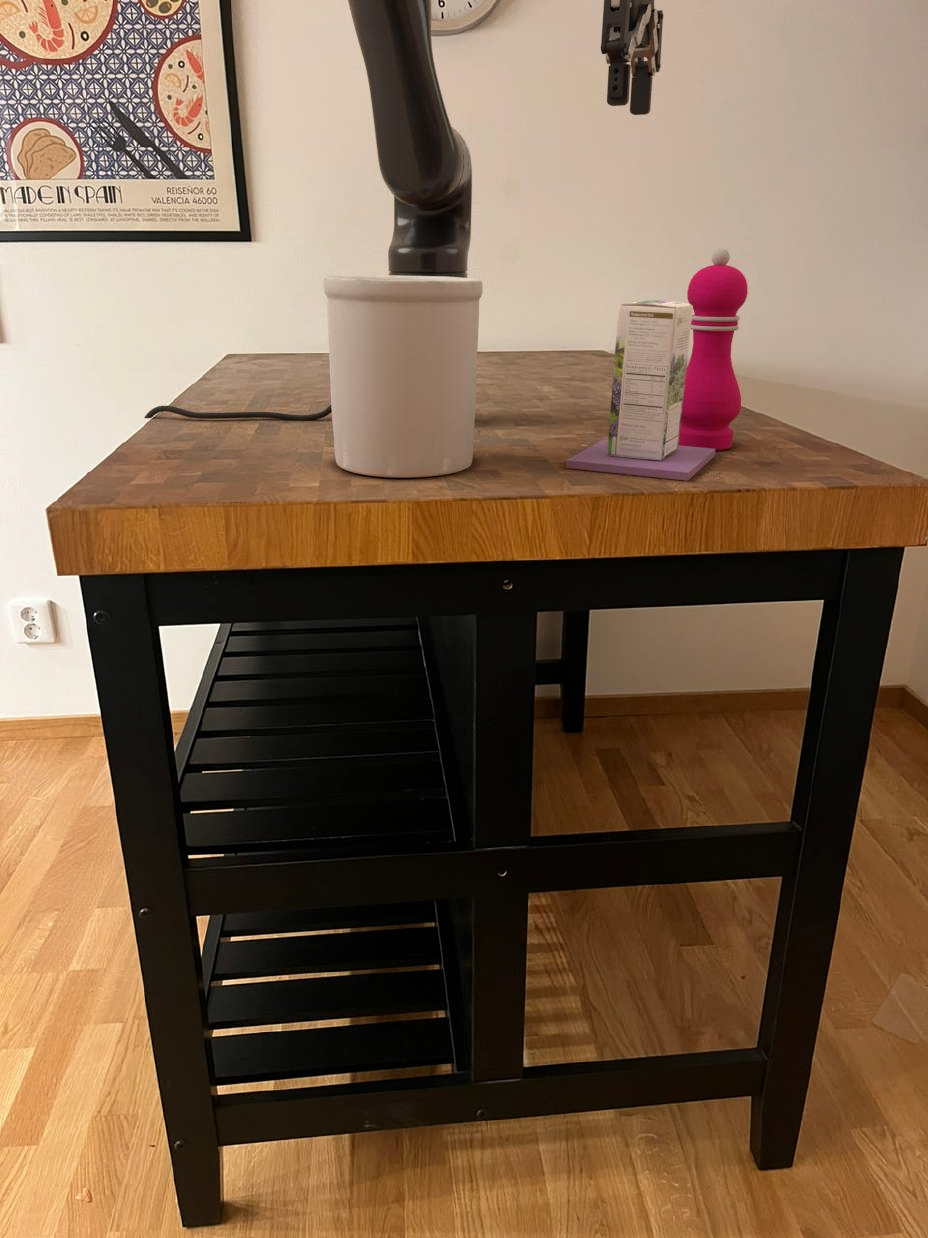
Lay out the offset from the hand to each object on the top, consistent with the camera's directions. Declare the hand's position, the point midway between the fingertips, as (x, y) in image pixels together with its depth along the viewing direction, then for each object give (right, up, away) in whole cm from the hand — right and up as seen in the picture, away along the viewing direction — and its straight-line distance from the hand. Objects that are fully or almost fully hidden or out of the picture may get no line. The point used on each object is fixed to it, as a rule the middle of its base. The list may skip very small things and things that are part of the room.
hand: (628, 109), depth 102 cm
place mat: (0, -40, -9) cm, 41 cm away
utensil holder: (-24, -41, -9) cm, 48 cm away
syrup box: (0, -40, -9) cm, 41 cm away
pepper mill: (+8, -37, -1) cm, 38 cm away
